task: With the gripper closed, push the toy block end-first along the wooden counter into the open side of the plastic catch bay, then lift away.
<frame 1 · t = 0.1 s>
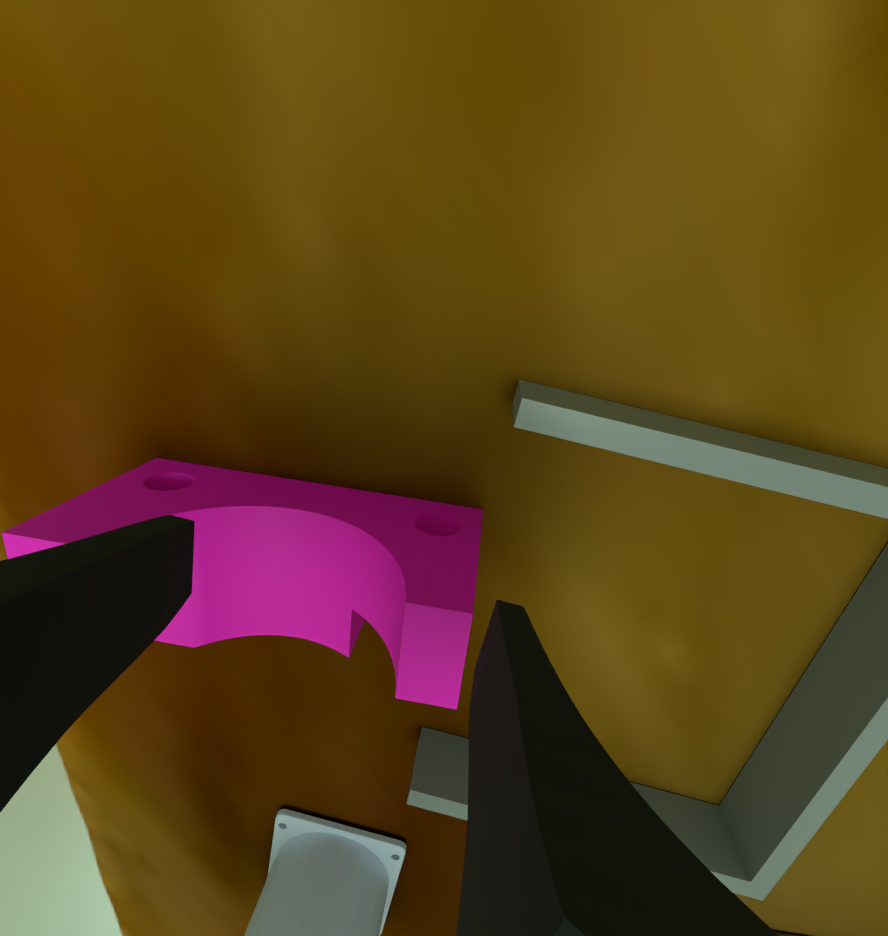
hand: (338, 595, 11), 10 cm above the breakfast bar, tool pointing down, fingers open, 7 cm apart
toy block: (317, 540, 23), on the breakfast bar
catch bay: (640, 634, 22), on the breakfast bar
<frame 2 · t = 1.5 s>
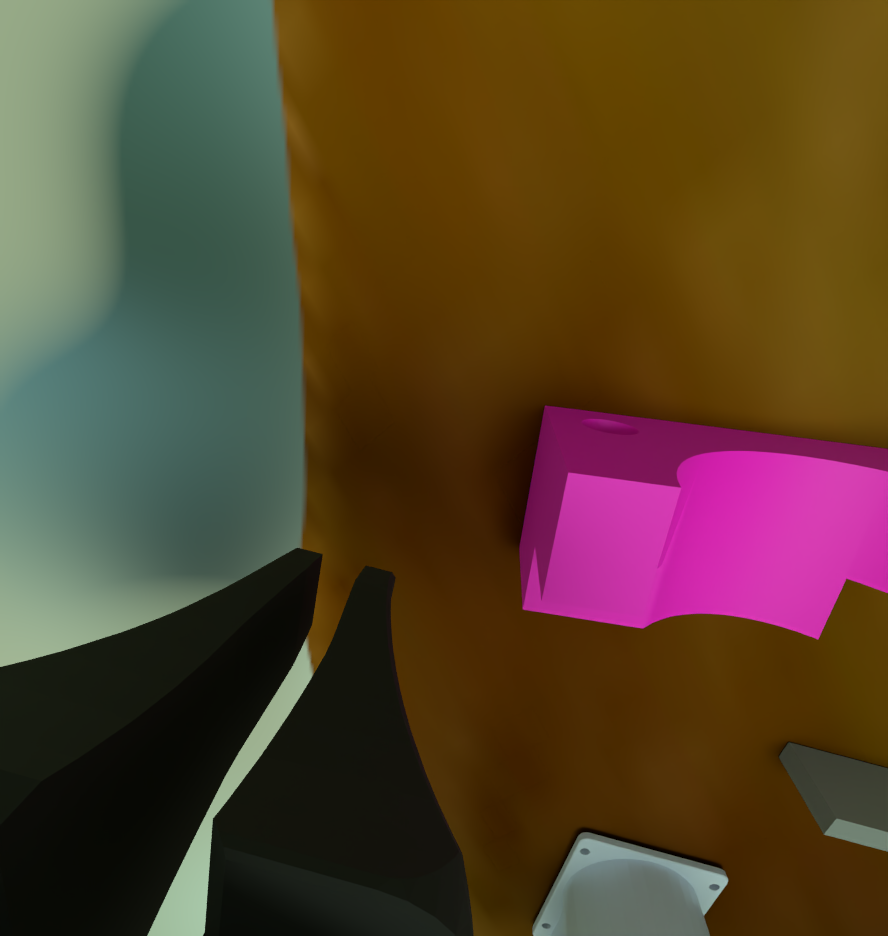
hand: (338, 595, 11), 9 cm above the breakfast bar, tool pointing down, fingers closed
toy block: (717, 502, 20), on the breakfast bar
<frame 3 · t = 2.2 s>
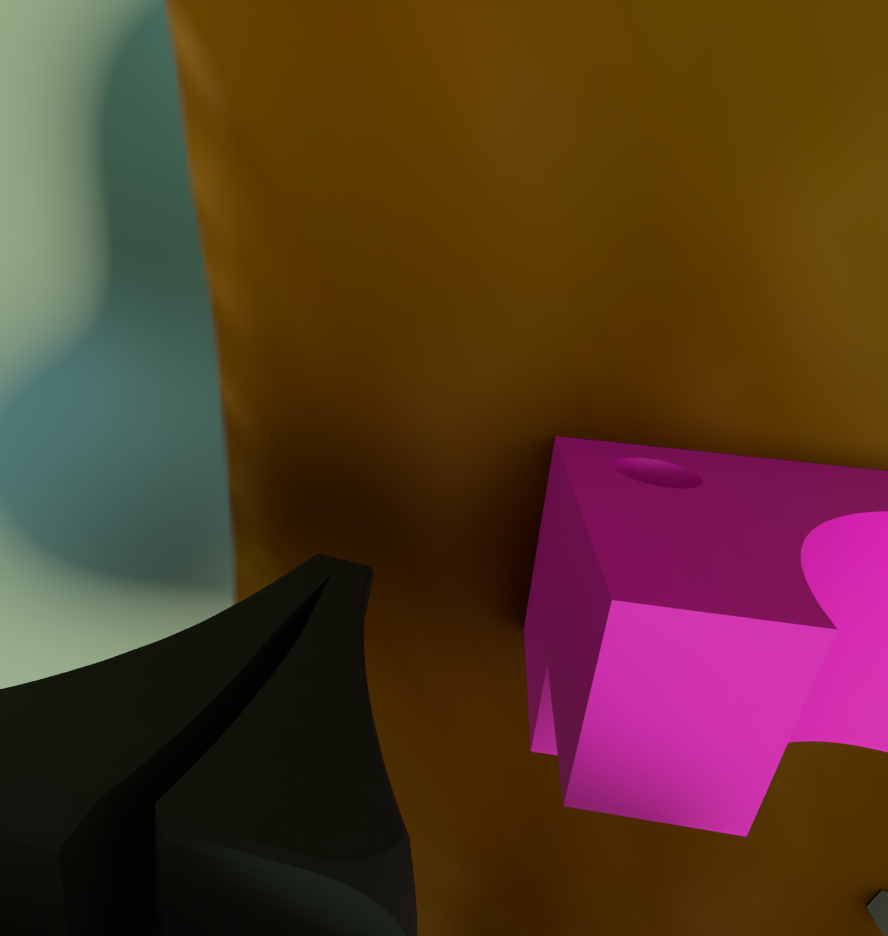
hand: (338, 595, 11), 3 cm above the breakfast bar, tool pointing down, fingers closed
toy block: (804, 565, 14), on the breakfast bar
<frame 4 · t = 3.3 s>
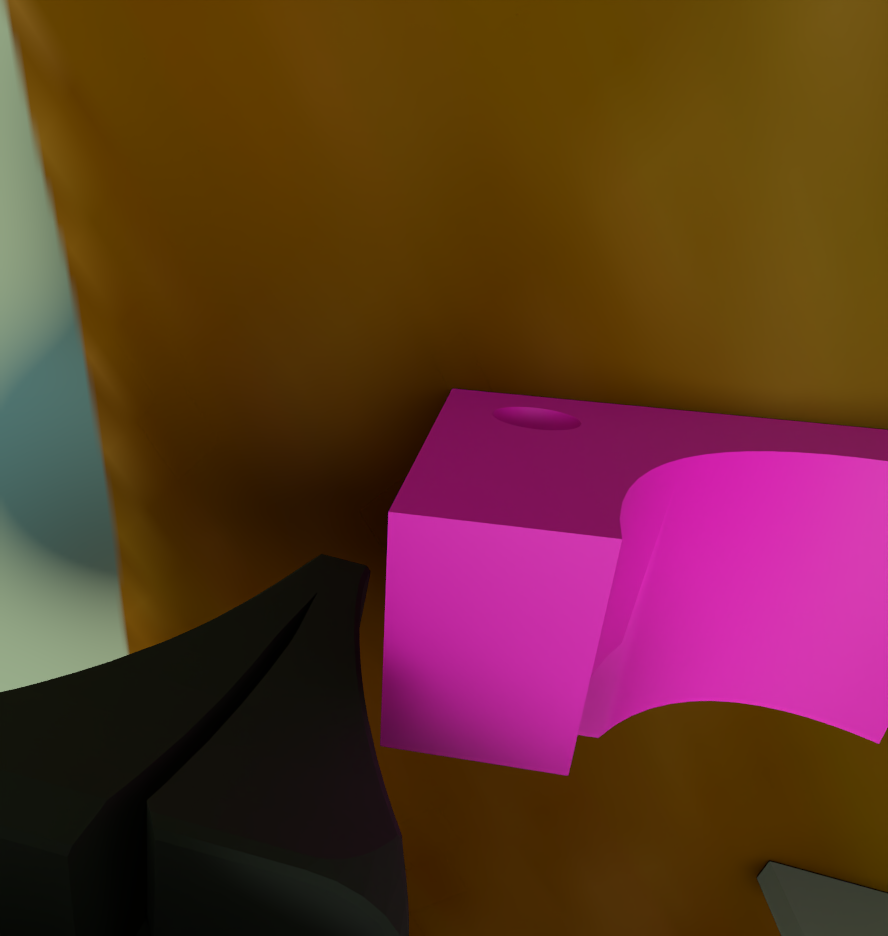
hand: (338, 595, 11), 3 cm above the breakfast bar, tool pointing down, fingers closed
toy block: (715, 525, 13), on the breakfast bar, touching gripper
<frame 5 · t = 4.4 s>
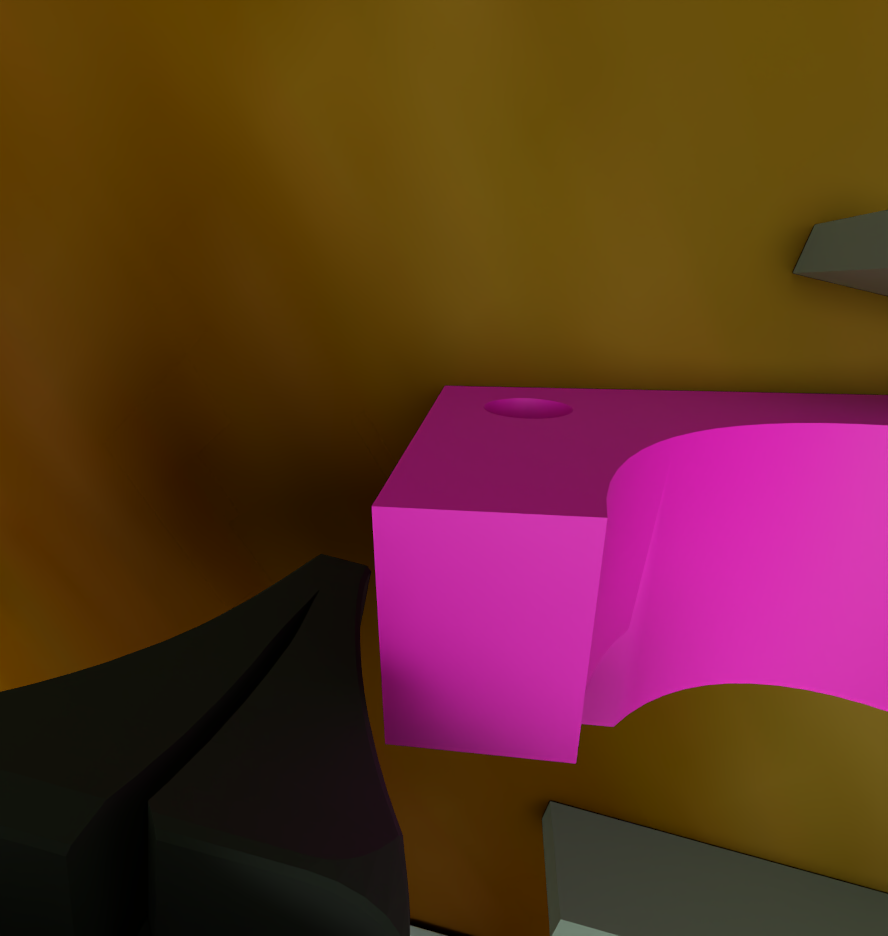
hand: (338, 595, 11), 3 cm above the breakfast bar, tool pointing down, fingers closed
toy block: (721, 505, 13), on the breakfast bar, touching gripper
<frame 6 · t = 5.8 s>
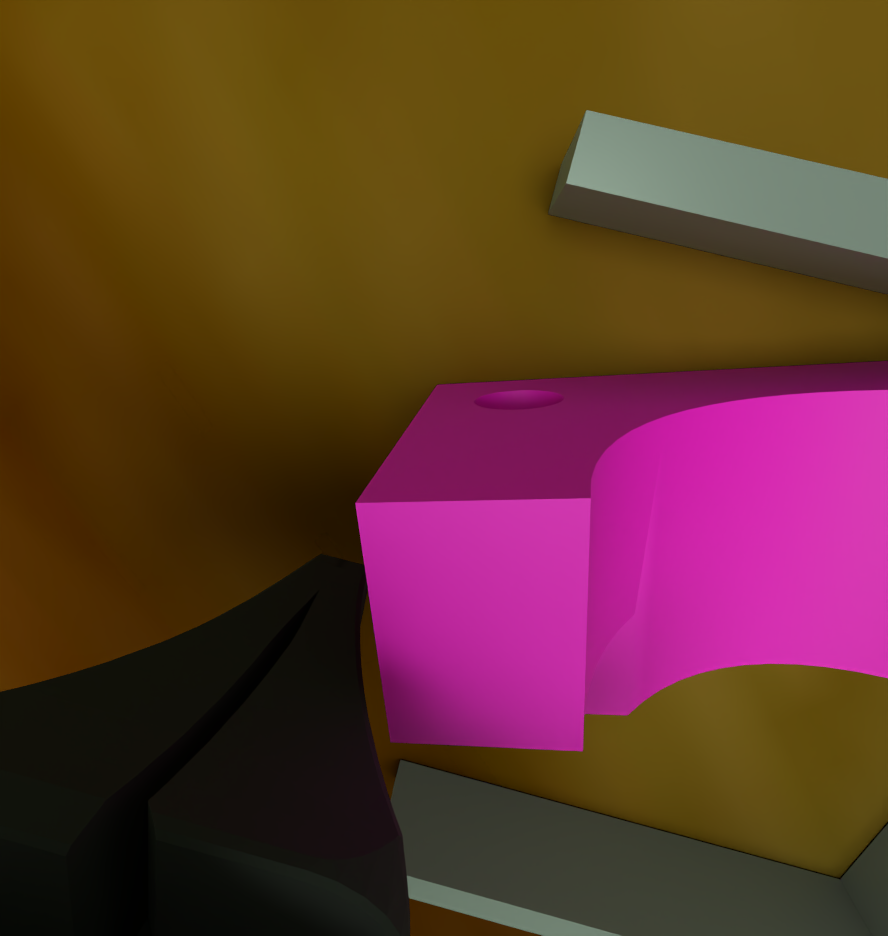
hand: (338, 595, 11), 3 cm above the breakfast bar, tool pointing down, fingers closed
toy block: (726, 485, 13), on the breakfast bar, touching gripper
catch bay: (742, 622, 14), on the breakfast bar
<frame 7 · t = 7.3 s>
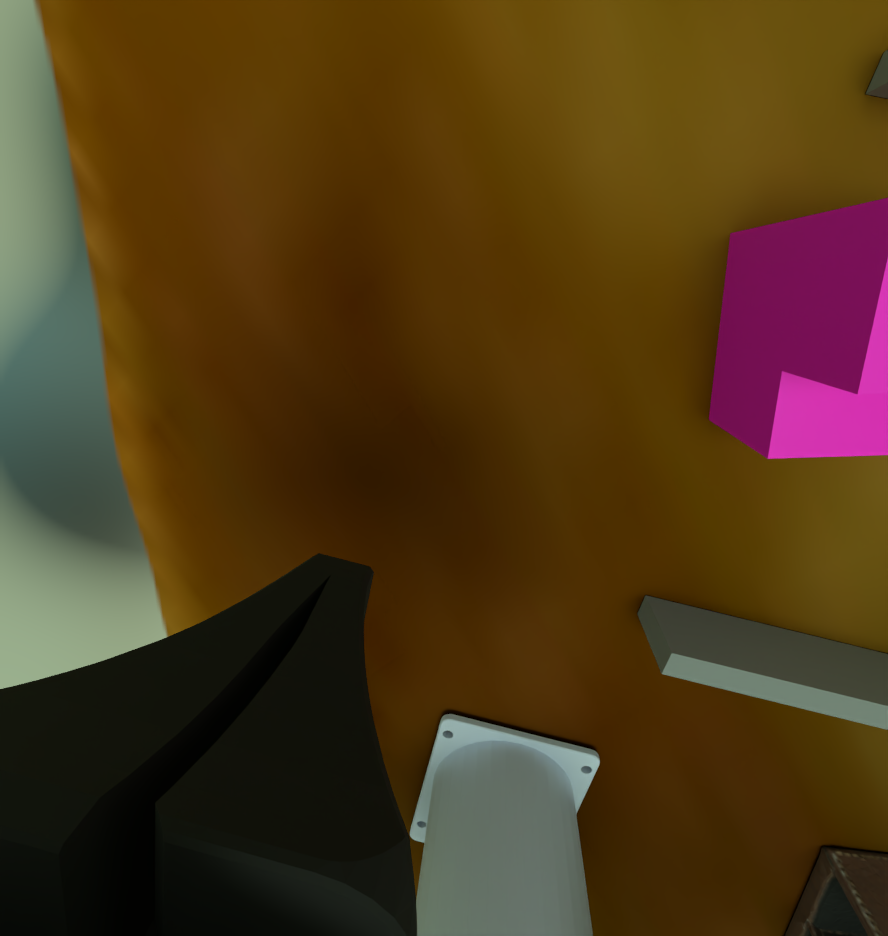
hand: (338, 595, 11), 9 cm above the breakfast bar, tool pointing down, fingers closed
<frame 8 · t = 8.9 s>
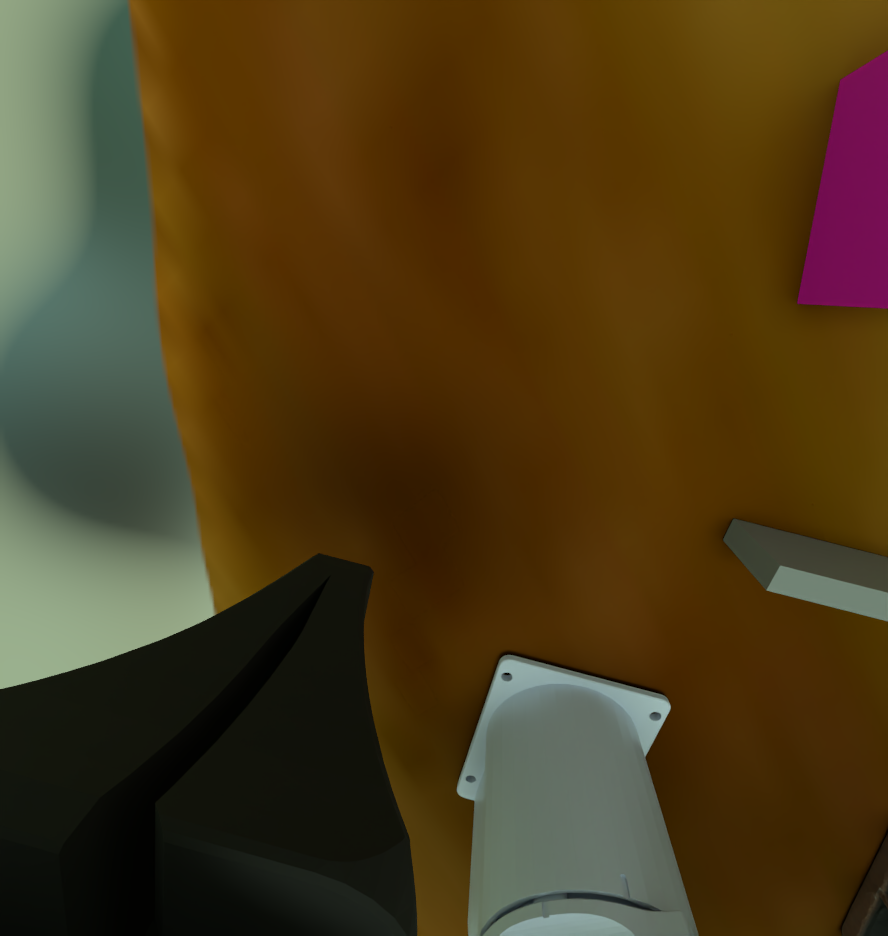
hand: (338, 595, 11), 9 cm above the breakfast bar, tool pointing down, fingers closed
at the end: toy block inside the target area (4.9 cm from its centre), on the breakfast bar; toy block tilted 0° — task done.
